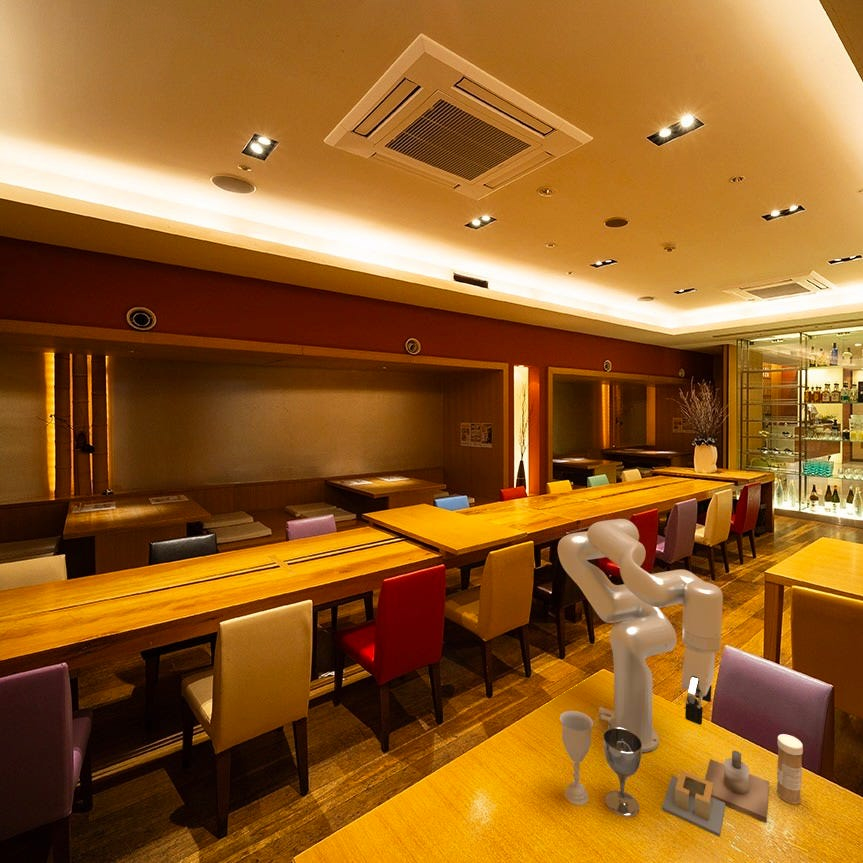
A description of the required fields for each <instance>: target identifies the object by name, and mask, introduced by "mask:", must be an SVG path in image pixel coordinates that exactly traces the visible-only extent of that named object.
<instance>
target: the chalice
mask: <svg viewBox="0 0 863 863" xmlns="http://www.w3.org/2000/svg"><path fill="white" fill-rule="evenodd" d="M559 720H560V722H561V726H562V728H561V732H562V734H561V737H562V742H563V745H564V748H565V750H566V752H567V754H568V757H569V758H570V759H571V761H573V762H574V763H573V765H572V769H573V773H572V777H573V781H571V782H570V783H569V784H568V786H567V788H566V790H565V792H564V794H565V797H566V799H567V800H568V802H570V803H571V804H573V805H577V806H583V805H586V804H587V802H588V801H589V796H588V794H587V791H586V788H585V786H584V785H583V784H582V783H581V782H579V780H580V779H581V776H582V775H581V774H580V770H581V767H580V764H579V763H581V762H583V761H584V759H585V757H586V756H587V754H588V753H589V750H590V748H591V744H592V743H591V742H592V737H591V736H592V733H591V732H592V727H593V726H594V721H593V719H592V718H591V717H590V716H589V715H587V714H586V713H583V712H581V711H577V710H567V711H564V712H562V713H561V714H560V717H559Z"/></svg>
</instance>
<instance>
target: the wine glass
mask: <svg viewBox="0 0 863 863" xmlns="http://www.w3.org/2000/svg"><path fill="white" fill-rule="evenodd" d="M602 743H603V751H604V756H605V761H606V762H607V765H608V766H609V768H610V769H611V770H612V771H613V773H615V775H616V776H617V777H618V781H619V782H618V783H619V786H620V787H619V788H620V790H611V791H609V792H607V794H606V795H605V800H604V801H605V804H606V806H607V807H608V809H609V810H610V811H611V812H613V813H614V814H616V815H618V816H620V817H623V818H633V817H636V816H637V815H638V814H639V812H640V803H638V801H637V799H636V798H635V797H634V796H632V795H631V794H629V793H628V792H625V786H626V781H627V780H628V778H629V777H632V776H634V775H635V773H637V772H638V770H639V768H640V765H641V760H642V754H643V752H642V743H641V740H640V738H639V737H638V736H637V735H636V734H634V733H633V732H631V731H629V730H627V729H623V728H610V729H608V728H607V729H606V730H605V731H604V732H603V742H602Z"/></svg>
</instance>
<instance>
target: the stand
mask: <svg viewBox="0 0 863 863" xmlns="http://www.w3.org/2000/svg"><path fill="white" fill-rule="evenodd" d="M704 780H707V781H709V782H712V783H713V798H715V799H718V800H720V801H722V802H725V807H726V806H727V807H728V808H731V809H733V810H735V811H738V812H740V813H743V814H745V815H747V816H749V817H752V818H754V819H757V820H758V821H761V822H763V823H764V824H765V823H767V821H768V806H769V795H770V793H769V791H770V781H769V780H767V779H765V778H761V777H758V776H756V775H753V774H751V773H750V769H749V767H748V765H747V764H746V763H744V762H743V761H742V753H740V751H737V750H732V751H731V757H730V758H726V759H724V761H723V763H722V762H719V761H717V760H714V759H712V758H710V759H709V762H708V766H707V771H706V774H705V778H704Z"/></svg>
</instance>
